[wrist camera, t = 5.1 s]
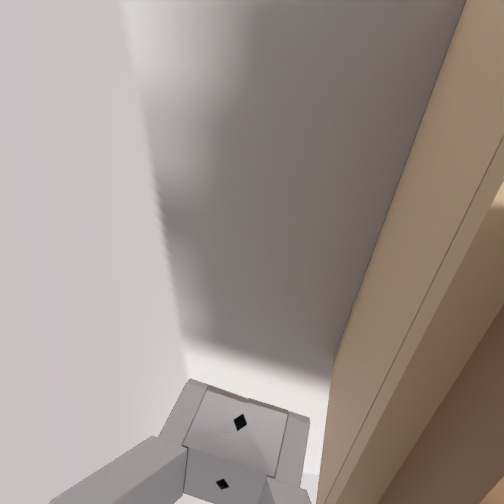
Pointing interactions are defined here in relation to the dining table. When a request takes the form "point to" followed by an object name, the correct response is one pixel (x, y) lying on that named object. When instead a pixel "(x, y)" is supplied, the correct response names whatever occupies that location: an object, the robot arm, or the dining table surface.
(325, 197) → the dining table surface
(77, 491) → the robot arm
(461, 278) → the lid
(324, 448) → the box
